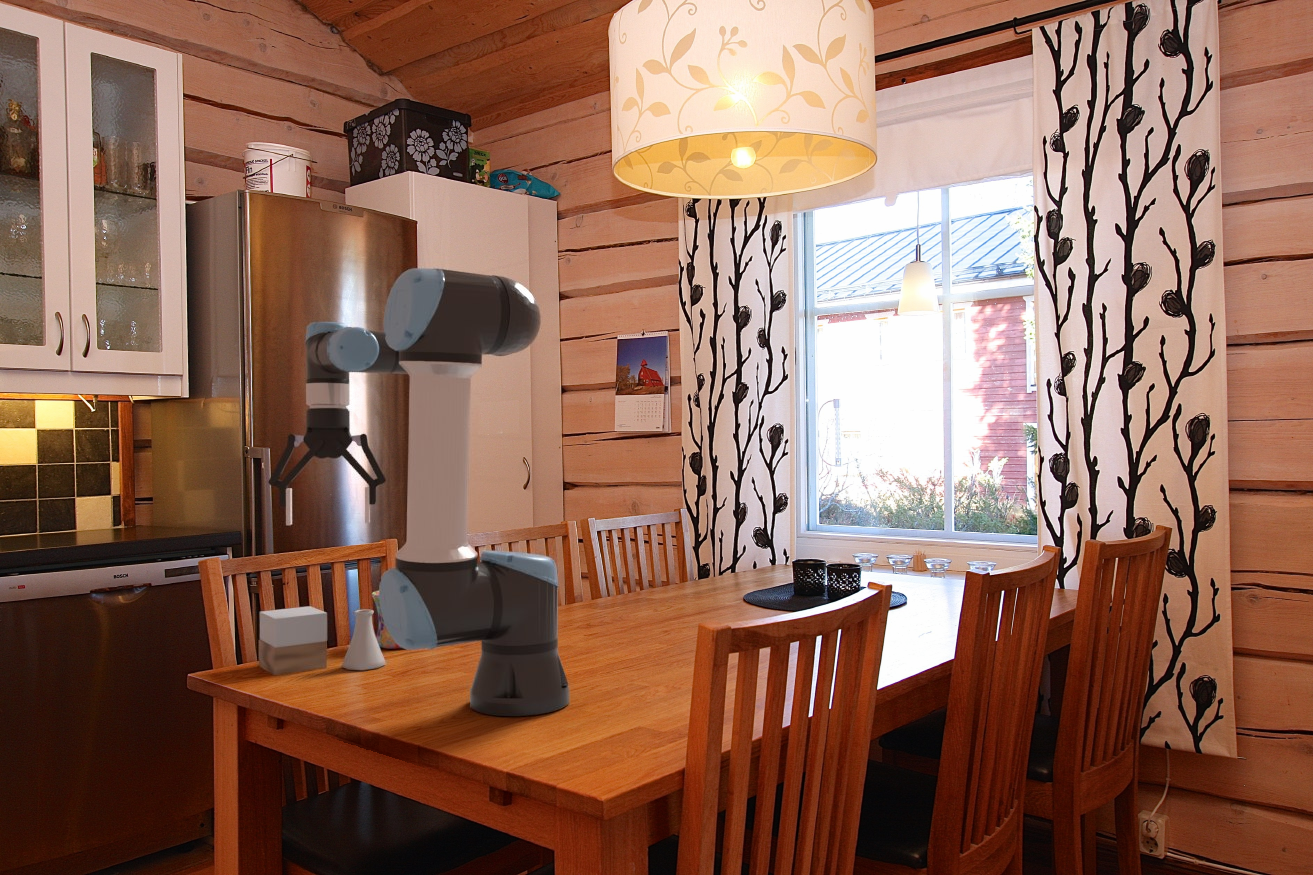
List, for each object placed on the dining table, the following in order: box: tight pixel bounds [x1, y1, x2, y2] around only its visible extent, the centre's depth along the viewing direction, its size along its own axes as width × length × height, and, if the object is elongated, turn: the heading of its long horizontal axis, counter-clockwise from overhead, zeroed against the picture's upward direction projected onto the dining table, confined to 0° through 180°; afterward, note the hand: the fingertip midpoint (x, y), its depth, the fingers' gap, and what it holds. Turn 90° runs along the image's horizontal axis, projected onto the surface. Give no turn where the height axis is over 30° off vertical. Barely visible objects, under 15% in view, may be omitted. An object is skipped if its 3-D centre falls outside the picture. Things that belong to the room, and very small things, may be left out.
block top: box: [259, 605, 328, 648], centre depth 175 cm, size 9×9×5 cm
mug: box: [371, 590, 403, 650], centre depth 193 cm, size 12×9×11 cm
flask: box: [341, 608, 387, 671], centre depth 175 cm, size 7×7×10 cm
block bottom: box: [258, 639, 328, 676], centre depth 175 cm, size 9×9×5 cm
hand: (328, 523), depth 179 cm, fingers open, 13 cm apart
